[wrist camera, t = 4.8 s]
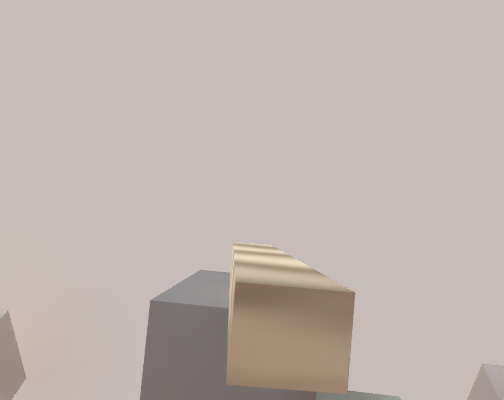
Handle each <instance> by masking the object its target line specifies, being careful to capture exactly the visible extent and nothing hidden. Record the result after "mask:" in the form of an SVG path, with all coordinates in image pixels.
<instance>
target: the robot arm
mask: <svg viewBox="0 0 504 400" xmlns="http://www.w3.org/2000/svg"><path fill="white" fill-rule="evenodd" d="M25 379H26V376H25V372H24V368H23V364H22V361H21V357H20V353H19V350H18V346H17V342H16V338H15V334H14V331H13V327H12V323H11V319H10V316H9V312H8V310H0V400H12V398H13V397H14V395H15V394H16V392H17V391H18V389H19V388H20V386H21V385H22V383H23V382H24V380H25ZM467 400H504V366H498V365H489V364H482V366H481V368H480V370H479V373H478V375H477V378H476V380H475V383H474V385H473V387H472V390H471V392H470V395H469V397H468V399H467Z"/></svg>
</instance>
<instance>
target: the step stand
mask: <svg viewBox="0 0 504 400" xmlns="http://www.w3.org/2000/svg"><path fill="white" fill-rule="evenodd" d="M229 291H230V273H226V272H216V271H206V270H200V271H198V272H197V273H195V274H193V275H191V276H190V277H188V278H187V279H185V280H183V281H182V282H180V283H178V284H177V285H175V286H173V287H172V288H170V289H168V290H167V291H165V292H163V293H162V294H160V295H158V296H157V297H155V298H153V299H152V300H151V301H150V309H149V319H148V328H147V337H146V347H145V357H144V366H143V377H142V386H141V394H140V400H401V399H400V398H399V397H398V396H389V395H380V394H372V393H363V392H354V391H347V394H338V393H325V392H312V391H299V390H286V389H273V388H261V387H248V386H235V385H226V377H227V348H228V320H229Z"/></svg>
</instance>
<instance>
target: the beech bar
mask: <svg viewBox="0 0 504 400" xmlns="http://www.w3.org/2000/svg"><path fill="white" fill-rule="evenodd" d="M354 300H355V292H353V291H351V290H350V289H348V288H346V287H344V286H343V285H341V284H339V283H337V282H335V281H334V280H332V279H330V278H329V277H327V276H325V275H323V274H321V273H320V272H318V271H316V270H314V269H313V268H311V267H309V266H308V265H306V264H304V263H302V262H300V261H299V260H297V259H295V258H293V257H292V256H290V255H288V254H286V253H285V252H283V251H281V250H279V249H278V248H276V247H274V246H271V245H260V244H249V243H238V242H233V250H232V260H231V271H230V291H229V320H228V348H227V377H226V385H235V386H248V387H261V388H273V389H286V390H299V391H312V392H325V393H338V394H347V389H348V376H349V363H350V351H351V338H352V326H353V313H354Z"/></svg>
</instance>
